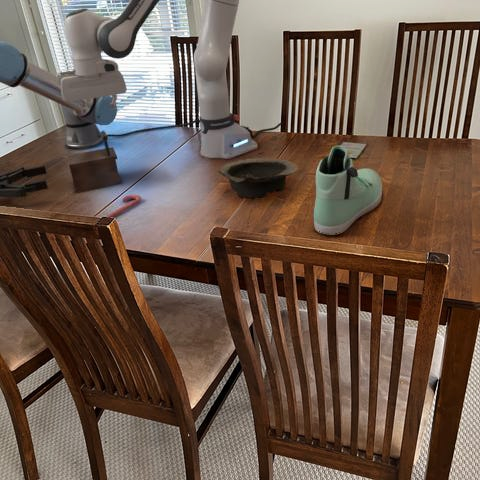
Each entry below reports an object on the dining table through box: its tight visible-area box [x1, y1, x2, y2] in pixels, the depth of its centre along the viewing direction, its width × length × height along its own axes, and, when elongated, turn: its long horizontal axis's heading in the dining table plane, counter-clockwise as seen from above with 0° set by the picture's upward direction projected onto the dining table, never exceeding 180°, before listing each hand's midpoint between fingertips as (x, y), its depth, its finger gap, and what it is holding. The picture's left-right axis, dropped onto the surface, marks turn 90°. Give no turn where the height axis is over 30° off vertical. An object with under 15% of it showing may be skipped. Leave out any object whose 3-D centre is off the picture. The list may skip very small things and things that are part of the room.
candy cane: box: [106, 194, 142, 218], centre depth 149 cm, size 6×15×2 cm, turn 145°
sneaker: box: [313, 145, 383, 236], centre depth 133 cm, size 14×35×20 cm, turn 152°
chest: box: [69, 159, 121, 194], centre depth 165 cm, size 15×10×9 cm, turn 111°
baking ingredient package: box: [340, 141, 367, 159], centre depth 177 cm, size 9×1×15 cm
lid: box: [66, 130, 118, 169], centre depth 161 cm, size 16×10×8 cm, turn 111°
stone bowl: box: [217, 157, 299, 201], centre depth 152 cm, size 25×25×9 cm
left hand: (46, 176), depth 160 cm, fingers open, 13 cm apart
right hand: (98, 111), depth 156 cm, fingers open, 8 cm apart
